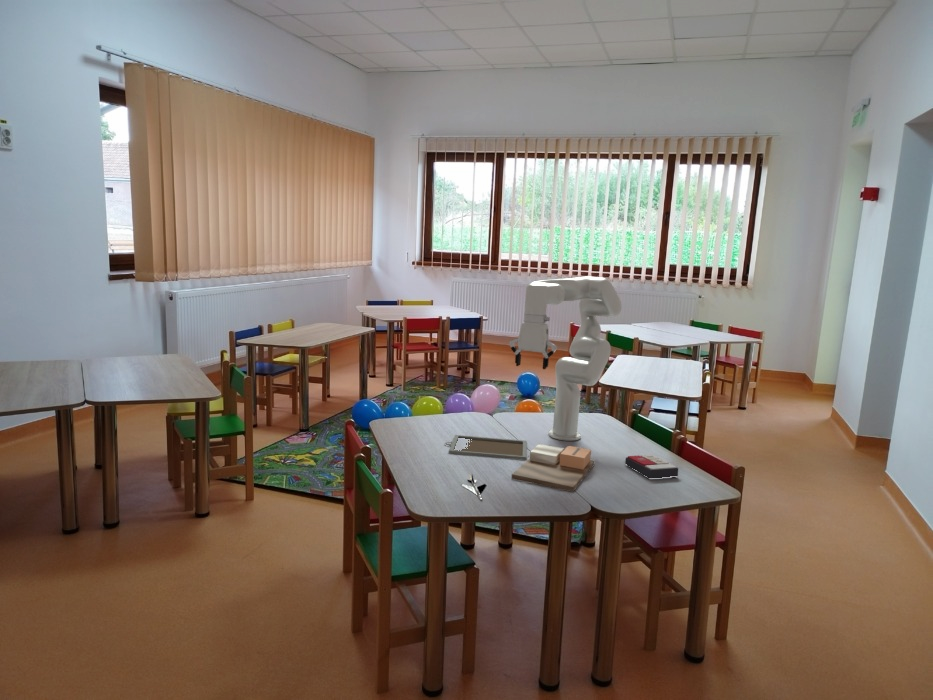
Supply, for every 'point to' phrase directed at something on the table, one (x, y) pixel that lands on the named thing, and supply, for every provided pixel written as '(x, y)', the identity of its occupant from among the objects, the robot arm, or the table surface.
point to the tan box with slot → (575, 457)
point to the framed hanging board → (491, 447)
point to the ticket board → (550, 469)
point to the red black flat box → (651, 466)
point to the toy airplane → (475, 488)
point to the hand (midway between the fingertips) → (531, 367)
